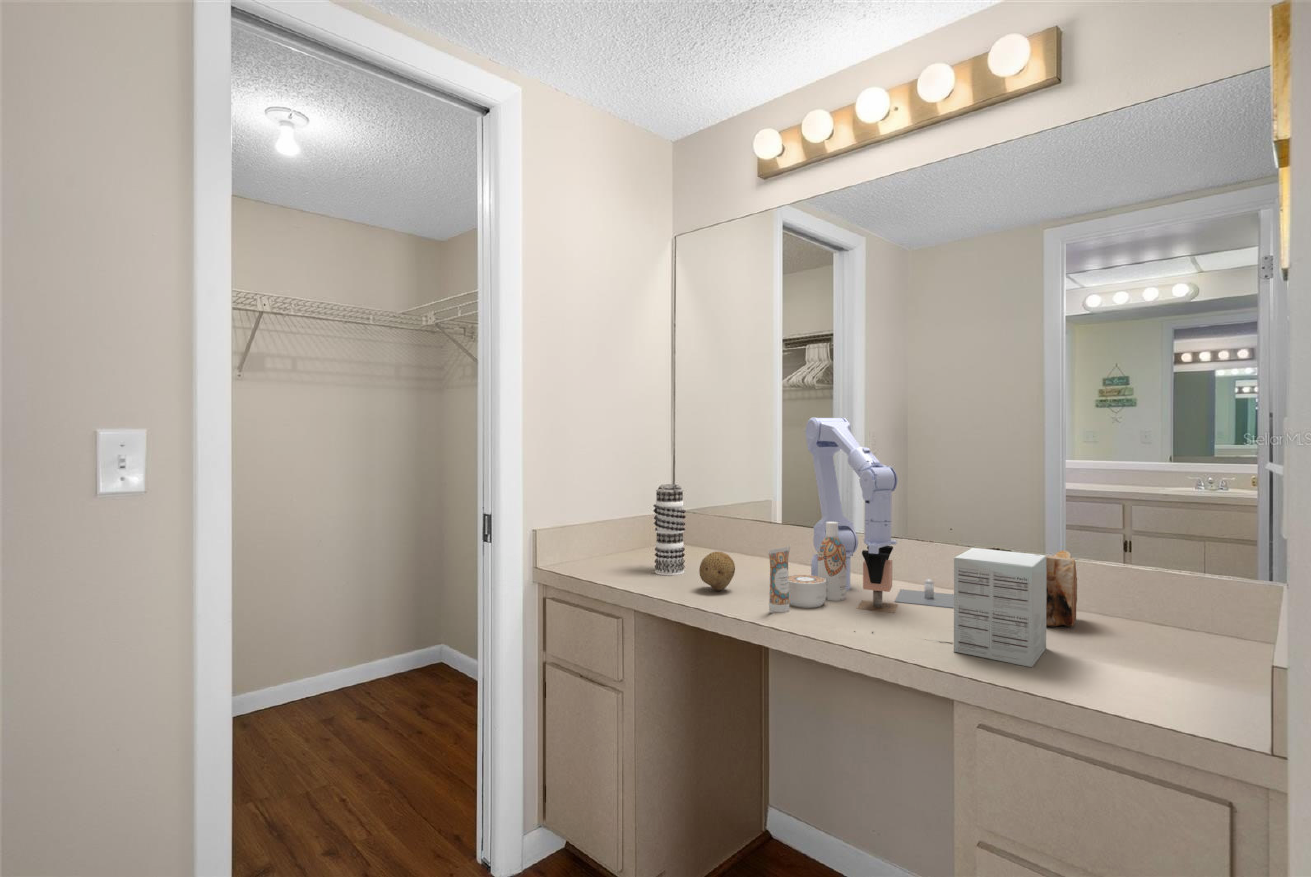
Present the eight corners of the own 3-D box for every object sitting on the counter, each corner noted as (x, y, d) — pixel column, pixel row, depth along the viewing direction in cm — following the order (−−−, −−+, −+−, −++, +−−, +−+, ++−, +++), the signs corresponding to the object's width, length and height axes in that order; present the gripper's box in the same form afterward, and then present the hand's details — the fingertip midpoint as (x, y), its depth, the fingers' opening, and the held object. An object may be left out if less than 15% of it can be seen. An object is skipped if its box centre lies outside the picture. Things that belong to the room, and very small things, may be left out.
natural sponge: (722, 597, 162) (722, 556, 162) (692, 591, 167) (692, 552, 167) (741, 590, 169) (741, 550, 169) (711, 585, 174) (711, 547, 174)
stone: (1064, 635, 132) (1065, 559, 131) (1017, 624, 139) (1017, 552, 139) (1093, 622, 140) (1093, 551, 140) (1047, 613, 147) (1047, 545, 147)
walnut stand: (856, 612, 148) (856, 592, 148) (862, 603, 156) (862, 585, 156) (894, 616, 145) (894, 596, 145) (898, 607, 152) (898, 588, 152)
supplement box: (971, 634, 132) (971, 546, 132) (1047, 648, 124) (1047, 554, 123) (951, 652, 122) (952, 556, 121) (1033, 668, 113) (1034, 566, 113)
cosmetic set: (784, 621, 142) (784, 533, 142) (753, 611, 149) (753, 528, 149) (856, 602, 157) (856, 523, 157) (824, 595, 164) (825, 519, 164)
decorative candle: (648, 570, 193) (648, 484, 192) (676, 567, 196) (676, 483, 196) (661, 577, 184) (661, 486, 184) (691, 573, 188) (691, 485, 188)
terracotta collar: (863, 589, 149) (863, 562, 149) (866, 583, 154) (866, 558, 154) (889, 592, 146) (889, 564, 146) (892, 586, 152) (892, 560, 151)
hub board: (894, 605, 154) (894, 581, 154) (900, 593, 166) (900, 571, 165) (961, 612, 148) (961, 588, 148) (962, 599, 159) (962, 576, 159)
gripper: (893, 525, 142) (892, 589, 142) (900, 517, 155) (899, 575, 155) (858, 523, 145) (858, 585, 145) (868, 515, 158) (868, 572, 158)
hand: (877, 580), depth 150 cm, fingers closed on terracotta collar, 6 cm apart
